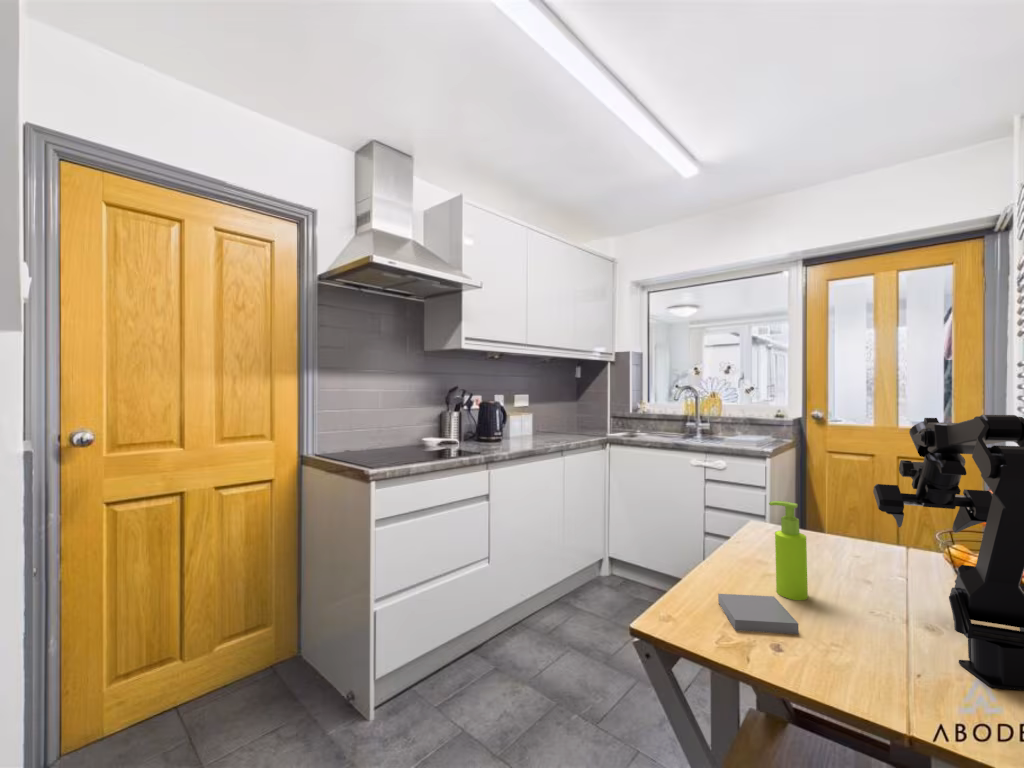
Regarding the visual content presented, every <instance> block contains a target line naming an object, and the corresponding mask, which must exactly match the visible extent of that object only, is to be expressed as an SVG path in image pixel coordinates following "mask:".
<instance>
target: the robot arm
mask: <svg viewBox="0 0 1024 768" xmlns="http://www.w3.org/2000/svg"><path fill="white" fill-rule="evenodd" d="M908 432H909V436H910V438H911V440H912V443H913V444H914V448H915V449H916V452H917V454H918V455H919V457H922V458H923V461H912V460H907V459H905V460H903V459H902V460H900V461H899V465H898V471H899V474H900V476H901V477H903V478H905V477H906V478H911V479H912V482H911V486H912V489H913V490H915V493H904V492H903V493H901V490H900V487H899V485H898V484H886V483H885V484H882V483H880V484H879V483H876V484H875V485H874V486H873V490H872V492H873V495H874V498H875V502H876V505H877V509H878V510H879V511H881V512H883V513H886V514H887V515H892V517H893V518H894V519H895V522H896V525H897V528H901V527H902V526H903V523H904V516H905V513H904V510H905V506H914V507H915V506H916V507H918V506H919V507H923V508H935V509H947V510H955V509H956V508H957V507H959V508H958V510H957V512H956V516H955V518H954V521H953V523H952V531H953V533H959V532H962V531H963V530H966V529H968V528H970V527H974V526H976V525H977V526H978V524H982V523H985V527H984V531H983V535H982V539H981V542H980V547H979V551H978V555H977V560H976V564H975V565H967V564H961V565H960V566H959V567H958V568H957V575H956V578H955V580H954V586H953V587H952V588H951V589H950V594H949V596H948V601H949V605H950V608H951V611H952V617H953V622H954V623H953V624H954V625H953V626H954V631H955V632H956V633H959V634H962V635H964V636H965V637H966V639H967V653H968V654H967V655H968V656H967V657H968V659H958V664H959V665H960V666H962V667H963V668H965V669H966V670H967V671H968V672H970V673H971V674H972V675H974V676H975V677H977V678H978V679H979V680H980V681H981V682H983V683H985V685H987V686H989V687H990V688H994V689H1002V690H1005V689H1006V690H1015V691H1016V690H1017V691H1024V591H1023V589H1022V587H1021V582H1022V578H1023V574H1024V417H1023V416H1017V415H1015V414H981V415H979V416H975V417H974V418H971V419H968V420H963V421H961V422H939V419H938V418H937V417H924V419H923V421H921V422H918V423H916V424H914V425H913V426H912V427H911V428H910V429H909V431H908ZM1005 442H1008V443H1009V442H1012V443H1013V442H1015V443H1016V444H1017V445H1018V446H1017V445H992V444H999V443H1000V444H1001V443H1005ZM987 445H992V446H991V447H990V446H989V447H988V446H987ZM963 455H971V458H972V460H973V462H974V463H975V465H976V467H977V468H978V470H979V472H980V476H981V478H982V480H983V481H984V483H985V484H986V485H987V487H988V488H989V490H982V489H981V490H979V489H966V488H965V489H963V492H962V494H963V495H962V494H961V489H960V487H959V486H960V482H961V478H962V476H966V475H967V469H966V467H965V466H966V459H965V457H964V456H963ZM972 621H974V622H975V621H977V622H983V623H989V624H993V625H1000V626H1008V627H1013V628H1019V630H1015V629H1011V628H1004V627H997V626H992V625H984V624H978V623H974V622H973V623H972Z"/></svg>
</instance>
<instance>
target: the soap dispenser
mask: <svg viewBox="0 0 1024 768" xmlns="http://www.w3.org/2000/svg"><path fill="white" fill-rule="evenodd" d="M768 505H769V506H781V507H785V509H784V512H785V515H783V516H781V517H780V521H781V523H780V524H781V530H777V531H775V532H774V539H775V540H774V542H775V543H774V544H775V550H774V551H775V552H774V553H775V583H776V588H775V589H776V591H775V592H776V593H777V594H778V595H779V596H780V595H781V596H780V597H782V596H783V598H785V597H786V599H788V600H793V601H804V600H808V597H809V596H808V595H809V593H808V590H809V589H808V554H807V553H808V552H807V551H808V550H807V548H808V546H807V536H806V535H805V534H804V533H801V532H800V519H799V517H796V516H795V509H797V508H798V506H799V505H798V503H794V502H789V501H784V500H774V501H772V500H771V501H770V502H769V503H768Z"/></svg>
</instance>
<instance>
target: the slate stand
mask: <svg viewBox="0 0 1024 768" xmlns="http://www.w3.org/2000/svg"><path fill="white" fill-rule="evenodd" d="M717 598H718V599H717V600H718V602H719V603H718V605H719V604H720V605H719V607H720V608H721V607H722V608H721V610H722V609H723V610H722V611H723V613H724V612H725V613H724V615H725V614H726V615H725V616H726V618H727V620H728V621H729V624H730V625H731V626H732V627H733V629H734V631H740V632H757V633H771V634H772V633H774V634H788V635H791V634H792V635H799V623H798V621H797V620H796V619H795V618H794V617H793V616H792V614H791V613H790V612H789V611H788V610H787V609H786V608H785V607H784V606H783V604H781V603H780V601H779V599H777V598H776V597H775V596H774V595H773V596H772V595H756V594H755V595H753V594H733V593H718V594H717Z"/></svg>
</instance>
